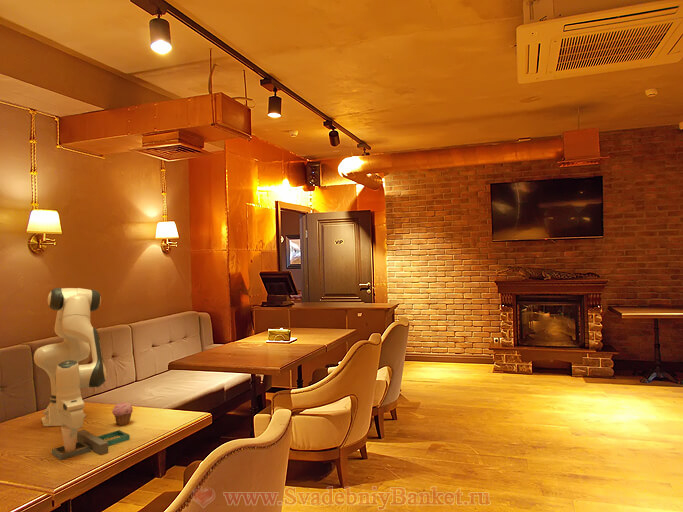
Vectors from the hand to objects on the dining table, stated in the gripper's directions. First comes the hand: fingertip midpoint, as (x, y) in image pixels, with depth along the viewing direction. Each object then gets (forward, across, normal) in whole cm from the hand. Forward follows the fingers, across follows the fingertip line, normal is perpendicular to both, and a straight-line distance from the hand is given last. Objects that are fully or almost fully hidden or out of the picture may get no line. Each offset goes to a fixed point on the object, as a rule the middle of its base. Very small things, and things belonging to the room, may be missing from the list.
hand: (69, 435), depth 196 cm
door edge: (+7, 0, +8) cm, 11 cm away
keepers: (+7, 0, +8) cm, 11 cm away
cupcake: (+7, -19, +29) cm, 35 cm away
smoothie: (+6, 0, 0) cm, 6 cm away
